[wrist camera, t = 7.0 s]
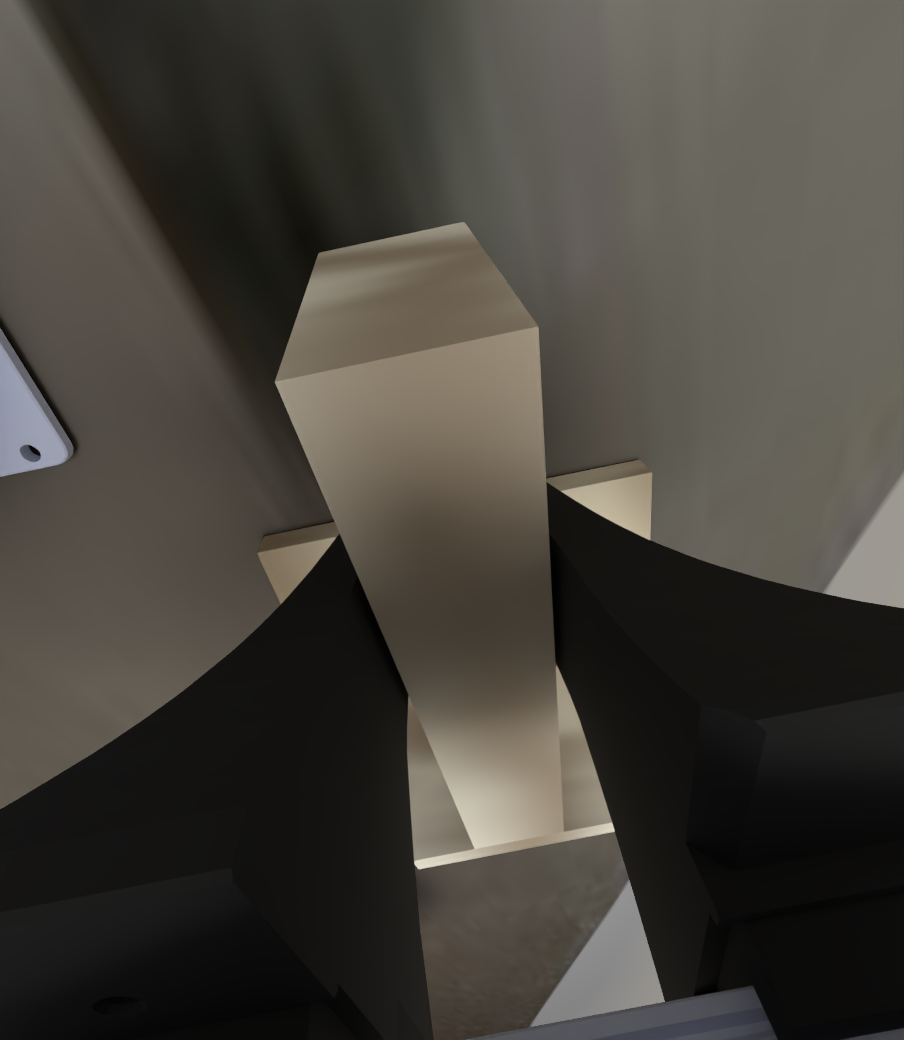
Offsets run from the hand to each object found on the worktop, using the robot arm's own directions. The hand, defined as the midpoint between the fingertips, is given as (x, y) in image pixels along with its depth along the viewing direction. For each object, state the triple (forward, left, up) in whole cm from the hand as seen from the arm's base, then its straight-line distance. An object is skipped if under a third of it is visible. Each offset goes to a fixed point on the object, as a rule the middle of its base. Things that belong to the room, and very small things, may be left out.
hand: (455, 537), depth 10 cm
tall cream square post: (0, -2, -2) cm, 3 cm away
